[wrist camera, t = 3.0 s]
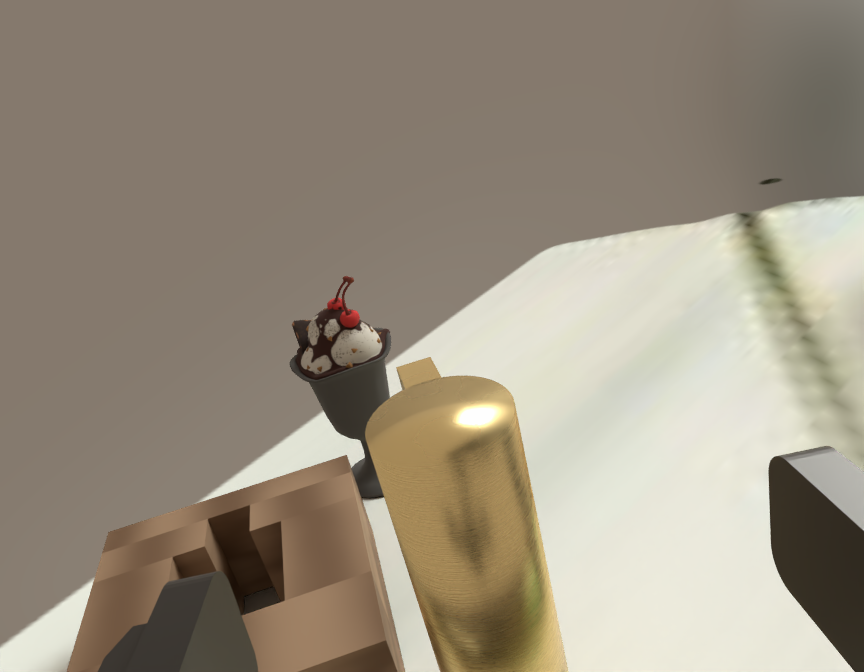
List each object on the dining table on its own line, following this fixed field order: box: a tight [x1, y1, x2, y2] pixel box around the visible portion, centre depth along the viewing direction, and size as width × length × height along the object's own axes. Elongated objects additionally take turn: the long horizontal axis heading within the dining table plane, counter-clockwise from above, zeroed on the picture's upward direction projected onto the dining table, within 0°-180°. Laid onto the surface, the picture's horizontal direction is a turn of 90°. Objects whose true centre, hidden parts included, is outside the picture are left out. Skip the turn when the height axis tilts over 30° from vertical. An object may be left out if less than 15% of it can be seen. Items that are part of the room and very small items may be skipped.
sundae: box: [290, 276, 391, 498], centre depth 45 cm, size 7×7×15 cm
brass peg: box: [365, 357, 568, 672], centre depth 25 cm, size 4×6×18 cm
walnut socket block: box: [67, 455, 405, 672], centre depth 35 cm, size 14×14×6 cm
